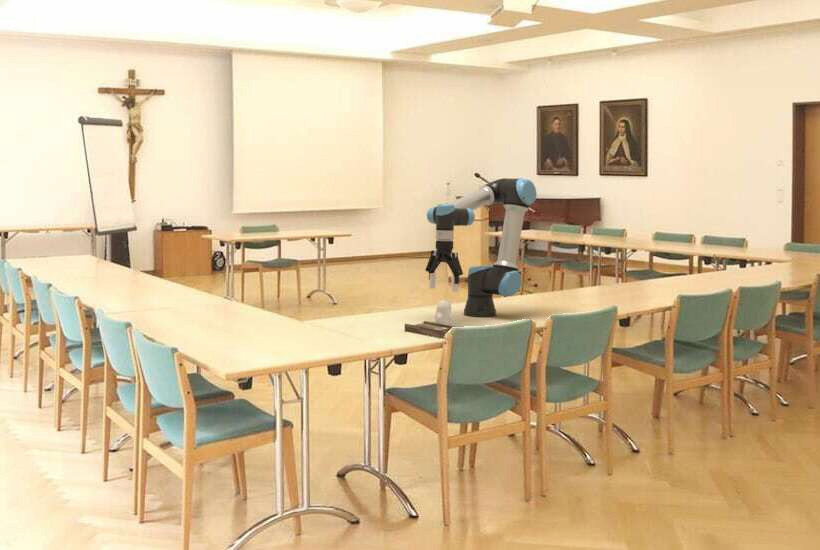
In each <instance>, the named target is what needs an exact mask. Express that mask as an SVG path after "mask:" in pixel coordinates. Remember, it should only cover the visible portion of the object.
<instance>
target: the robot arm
mask: <svg viewBox="0 0 820 550" xmlns="http://www.w3.org/2000/svg"><path fill="white" fill-rule="evenodd" d="M536 200H537V189H536V186H535V184H534V182H533V181H531V180H530V179H528V178H521V177H520V178H507V177H506V178H505V177H504V178H499V179H496V180H494V181H493V180H492V181H490V182H489V183H486V184H483V185H481V186H480V187H479V188H478V190H475V191H473V192H471V193H469V194H466V195H464V196H462V197H459V198H457V199H454V200H453V201H450V202H448V203H438V204H437V206H431V207H430V208H429V209H428V210H427V213H426V218H427V221H428V222H429V223H430V224H433V225H435V229H436V230H435V239H436V241H435V249H436V250H431V252H430V257H429V259H428V261H427V265H426V267H425V271H426V272H427V273H428V280H429V289H436V277H437V275H436V274H437V273H436V269H438V267H439V266H440V264H441V263H445V264H447V265H448V267H449V270H450V271H451V273H452V275H451V276H452V278H451V281H452V282H451V292H452V293H453V292H454V293H455V292H459V291H458V289H459V283H460V276H462V275H464V272H463V270H462V266H461V262H460V260H459V253H458V252H453V250H454V241H453V240H454V233H455V231H454V230H455V229H454V228H455V227H467V226H471V225H473V223H474V221H475V219H476V218H475V217H476V216H475V215H476V214H475V210H477V209H479V208H481V207H483V206H491V205H494V204H495V205H496V204H503V206H502V207H503V208H504V209H505V213H504V214H505V215H504V219H503V220H504V221H503V226H502V231H501V238H500V243H499V249H498V254H497V260H496V262H494V263H493V264H492V265H491V264H489V265H478V266H476V265H475V266H470V267H469V269H468V272H467V273H468V274H467V299H466V303H465V306H464V308H463V315H465V316H469V317H475V318H476V317H478V318H485V317H489V318H490V317H494V316H497V309H496V308H495V307H496V305H495V302H494V299H493V298H494V297H493V296H494V295H496V296H497V295H498V296H502V297H512V296H514V295H516V294H517V293H518V292H519V291H520V289H521V286H522V283H523V279H522V275H521V273H520V272H519V267H518V265H517V259H518V254H519V253H518V252H519V248H520V242H521V236H522V230H523V224H524V217H525V213H526V212H528V211H529V209H530V206H531V205H532V204H534V202H535V201H536Z"/></svg>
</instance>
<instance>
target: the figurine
mask: <svg viewBox="0 0 820 550" xmlns="http://www.w3.org/2000/svg"><path fill="white" fill-rule="evenodd" d="M435 311H436V312H435V315H434V316H435V317H434V318H435V319H434V321H435V322H434V323H439V324H444V325H449V326H452V323H453V322H454V321H453V314H452V304H451V301H449V300H446V299H441V300H440V301H439V302H438V303H437V305H436V310H435Z"/></svg>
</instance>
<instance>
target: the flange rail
mask: <svg viewBox="0 0 820 550" xmlns="http://www.w3.org/2000/svg"><path fill="white" fill-rule="evenodd" d="M452 327H456V326H454V325H451V326H449V325H444V324H439V323H435V322H432V321H428V320H423V322H422V323H417V324H409V323H404V332H408V333H414V334H419V335H422V336H427V335H429V336H428V337H432V336H434V338H437V337H438V338H437V339H445V338H444V336H445V334H446V333H447V332H448V331H449V330H450V329H451V328H452Z"/></svg>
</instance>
